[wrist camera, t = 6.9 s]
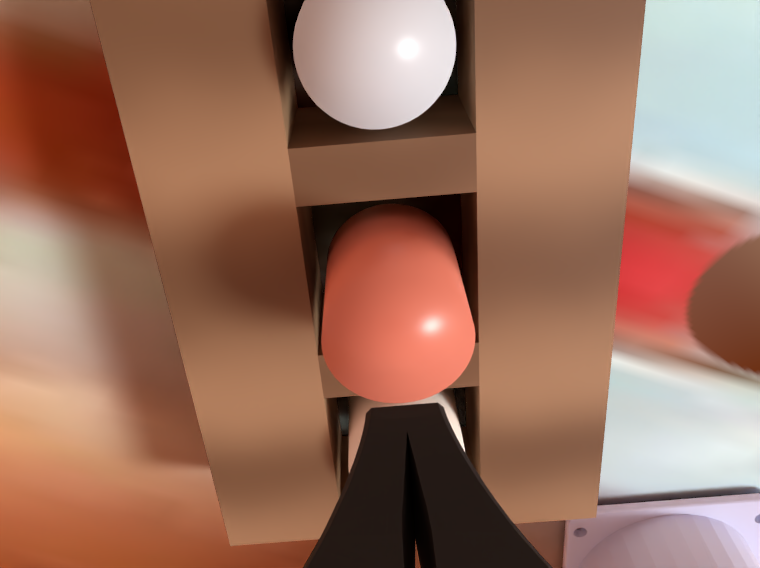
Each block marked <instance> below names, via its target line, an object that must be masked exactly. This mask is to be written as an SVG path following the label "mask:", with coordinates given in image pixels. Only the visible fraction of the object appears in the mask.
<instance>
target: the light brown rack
mask: <svg viewBox="0 0 760 568" xmlns="http://www.w3.org/2000/svg"><path fill="white" fill-rule="evenodd" d="M90 3H91V7H92V11H93V15H94V19H95V23H96V27H97V31H98V35H99V38H100V42H101V46H102V50H103V54H104V58H105V62H106V66H107V69H108V73H109V77H110V81H111V85H112V89H113V93H114V97H115V101H116V104H117V108H118V112H119V116H120V120H121V124H122V128H123V132H124V135H125V139H126V143H127V147H128V151H129V155H130V159H131V163H132V167H133V170H134V174H135V178H136V182H137V186H138V190H139V194H140V198H141V201H142V205H143V209H144V213H145V217H146V221H147V225H148V229H149V233H150V236H151V240H152V244H153V248H154V252H155V256H156V260H157V264H158V267H159V271H160V275H161V279H162V283H163V287H164V291H165V295H166V299H167V302H168V306H169V310H170V314H171V318H172V322H173V326H174V330H175V333H176V337H177V341H178V345H179V349H180V353H181V357H182V361H183V365H184V368H185V372H186V376H187V380H188V384H189V388H190V392H191V396H192V399H193V403H194V407H195V411H196V415H197V419H198V423H199V427H200V430H201V434H202V438H203V442H204V446H205V450H206V454H207V458H208V462H209V465H210V469H211V473H212V477H213V481H214V485H215V489H216V493H217V496H218V500H219V504H220V508H221V512H222V516H223V520H224V524H225V528H226V531H227V535H228V539H229V543H230V546H238V545H251V544H264V543H277V542H290V541H303V540H316V539H320V537H321V535H322V533H323V531H324V529H325V527H326V525H327V523H328V521H329V519H330V516H331V514H332V512H333V510H334V508H335V506H336V504H337V502H338V500H339V497H340V495H341V493H342V490H343V488H344V485H345V483H346V480H347V478H348V475H349V469H348V454H349V436H342V433H341V425H340V418H339V411H338V403H337V397H346V396H359V395H357V394H355V393H354V392H352V391H350V390H349V389H347V388H346V387H345V386H343V385H342V384H341V383H340V382H339V381H338V380H337V379H336V378H335V377H334V375H333V374H332V373H331V371H330V370H329V368H328V366H327V364H326V362H325V359H324V357H323V352H322V345H321V336H322V323H323V310H324V296H325V293H323V292H322V284H321V277H320V269H319V262H318V254H317V247H316V240H315V232H314V225H313V217H312V210H311V206H314V205H326V204H338V203H350V202H362V201H374V200H386V199H398V198H410V197H422V196H434V195H446V194H458V193H461V231H462V271H463V281H462V282H463V285H464V289H465V293H466V297H467V301H468V304H469V308H470V312H471V316H472V320H473V323H474V327H475V346H474V351H473V354H472V357H471V360H470V362H469V364H468V365H467V367H466V369H465V370H464V371H463V373H462V374H461V375H460V376H459V377H458V379H457V380H456V381H455V382H453V383H452V384H451V385H450V386H448V387H447V388H459V387H465V392H466V426H465V427H461V432H462V437H463V443H464V448H465V453H466V455H467V457H468V458H469V460H470V462H471V463H472V465H473V466H474V468H475V469H476V471H477V472H478V474H479V476H480V477H481V479H482V480H483V482H484V483H485V485H486V486H487V488H488V489H489V491H490V492H491V494H492V495H493V496H494V498H495V499H496V501H497V502H498V503H499V505H500V506H501V507H502V509H503V510H504V511H505V513H506V514H507V515H508V517H509V518H510V519H511V520H512V522H513V523H514V524H522V523H535V522H548V521H560V520H573V519H586V518H596V514H597V503H598V493H599V483H600V472H601V462H602V451H603V441H604V431H605V420H606V410H607V399H608V389H609V378H610V368H611V358H612V347H613V337H614V326H615V316H616V306H617V295H618V285H619V274H620V264H621V254H622V243H623V233H624V222H625V212H626V201H627V191H628V181H629V170H630V160H631V149H632V139H633V129H634V118H635V108H636V97H637V87H638V77H639V66H640V56H641V45H642V35H643V24H644V14H645V4H646V0H456V29H457V70H458V95H447V96H439V97H438V99H437V100H436V101H435V102H434V103H433V104H432V105H431V106H430V107H429V108H428V109H427V110H426V111H425V112H423V113H422V114H421V115H420V116H418V117H416V118H415V119H413V120H411V121H409V122H407V123H404V124H402V125H399V126H396V127H392V128H386V129H372V130H371V129H361V128H357V127H353V126H349V125H347V124H344V123H342V122H340V121H338V120H336V119H334V118H332V117H331V116H329V115H328V114H327V113H325V112H324V111H323V110H322V109H321V108H319V107H306V108H298V106H297V98H296V91H295V83H294V76H293V68H292V61H291V54H290V46H289V39H288V31H287V24H286V16H285V9H284V2H283V0H90Z"/></svg>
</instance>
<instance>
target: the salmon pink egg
mask: <svg viewBox="0 0 760 568" xmlns="http://www.w3.org/2000/svg"><path fill="white" fill-rule="evenodd" d="M321 345H322V352H323V357H324V359H325V362H326V364H327V366H328V368H329V370H330V371H331V373H332V374H333V375H334V377H335V378H336V379H337V380H338V381H339V382H340V383H341V384H342V385H343V386H345V387H346V388H347V389H349V390H350V391H352V392H354V393H355V394H357V395H359V396H362V397H364V398H367V399H370V400H373V401H378V402H383V403H408V402H414V401H418V400H422V399H425V398H428V397H431V396H433V395H435V394H437V393H439V392H441V391H442V390H444V389H446V388H447V387H448V386H450V385H451V384H452V383H453V382H455V381H456V380H457V379H458V377H459V376H460V375H461V374H462V373H463V371H464V370H465V369H466V367H467V365H468V364H469V362H470V360H471V357H472V354H473V351H474V346H475V327H474V323H473V320H472V316H471V312H470V308H469V304H468V301H467V297H466V293H465V289H464V285H463V282H462V278H461V274H460V270H459V266H458V263H457V259H456V255H455V251H454V247H453V244H452V241H451V239H450V236H449V235H448V233H447V231H446V230H445V228H444V227H443V226H442V225H441V223H440V222H438V221H437V220H436V219H435V218H434V217H433V216H431V215H430V214H428V213H427V212H425V211H423V210H421V209H418V208H415V207H413V206H408V205H404V204H382V205H376V206H373V207H369V208H367V209H364V210H362V211H360V212H358V213H356V214H355V215H353V216H352V217H350V218H349V219H348V220H347V221H346V222H345V223H344V224H343V225H341V227H340V228H339V229H338V231H337V232H336V234H335V235H334V237H333V239H332V241H331V244H330V246H329V251H328V257H327V269H326V283H325V296H324V310H323V323H322V336H321Z"/></svg>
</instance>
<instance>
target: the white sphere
mask: <svg viewBox="0 0 760 568" xmlns="http://www.w3.org/2000/svg"><path fill="white" fill-rule="evenodd" d="M293 56H294V62H295V67H296V70H297V73H298V76H299V79H300V81H301V83H302V85H303V87H304V89H305V90H306V92H307V93H308V95H309V96H310V98H311V99H312V100H313V101H314V102H315V104H316V105H317V106H318V107H319V108H321V109H322V110H323V111H324V112H325V113H327V114H328V115H329V116H331V117H332V118H334V119H336V120H338V121H340V122H342V123H344V124H347V125H349V126H353V127H357V128H361V129H371V130H372V129H386V128H392V127H396V126H399V125H402V124H404V123H407V122H409V121H411V120H413V119H415V118H416V117H418V116H420V115H421V114H422V113H423V112H425V111H426V110H427V109H428V108H429V107H430V106H431V105H432V104H433V103H434V102H435V101H436V100H437V99H438V97H439V96H440V95H441V93H442V92H443V90H444V88H445V87H446V85H447V83H448V81H449V78H450V76H451V73H452V70H453V66H454V62H455V56H456V35H455V29H454V24H453V20H452V17H451V15H450V12H449V9H448V8H447V6H446V4H445V2H444V0H304V2H303V5H302V7H301V10H300V12H299V15H298V18H297V21H296V24H295V29H294V35H293Z"/></svg>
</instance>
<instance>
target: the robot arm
mask: <svg viewBox="0 0 760 568" xmlns="http://www.w3.org/2000/svg"><path fill="white" fill-rule="evenodd" d="M578 528H581V529H578ZM415 540H416V545H417V550H418V556H419V561H420V566H421V568H552V567H551V566H550V564H549V563H548V562H547V561H546V560H545V559H544V558H543V557H542V556H541V555H540V554H539V553H538V551H537V550H536V549H535V548H534V547H533V546H532V545H531V543H530V542H529V541H528V540H527V539H526V538H525V537H524V535H523V534H522V533H521V532H520V530H519V529H518V528H517V527H516V526H515V524H514V523H513V522H512V520H511V519H510V518H509V517H508V515H507V514H506V513H505V511H504V510H503V509H502V507H501V506H500V505H499V503H498V502H497V501H496V499H495V498H494V496H493V495H492V494H491V492H490V491H489V489H488V488H487V486H486V485H485V483H484V482H483V480H482V479H481V477H480V476H479V474H478V472H477V471H476V469H475V468H474V466H473V465H472V463H471V462H470V460H469V458H468V457H467V455H466V453H465V451H464V450H463V448H462V446H461V444H460V442H459V440H458V439H457V437H456V435H455V433H454V431H453V429H452V427H451V424H450V422H449V420H448V417H447V415H446V412H445V409H444V407H443V406H442V405H440V404H439V403H438V402H437V403H425V404H412V405H400V406H387V407H375V408H371V409H370V410H369V411H368V412H367V413H366V416H365V424H364V428H363V433H362V437H361V440H360V444H359V447H358V450H357V453H356V456H355V459H354V462H353V465H352V467H351V470H350V472H349V475H348V478H347V480H346V483H345V485H344V488H343V490H342V493H341V495H340V497H339V500H338V502H337V504H336V506H335V508H334V510H333V512H332V514H331V516H330V519H329V521H328V523H327V525H326V527H325V529H324V531H323V533H322V535H321V537H320V539H319V540H318V542H317V544H316V546H315V548H314V550H313V551H312V553H311V555H310V557H309V558H308V560H307V562H306V563H305V565H304V567H303V568H415ZM562 568H760V493H754V494H741V495H729V496H716V497H703V498H690V499H677V500H664V501H652V502H639V503H626V504H613V505H600V506H597V514H596V518H586V519H573V520H566V523H565V537H564V552H563V567H562Z"/></svg>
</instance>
